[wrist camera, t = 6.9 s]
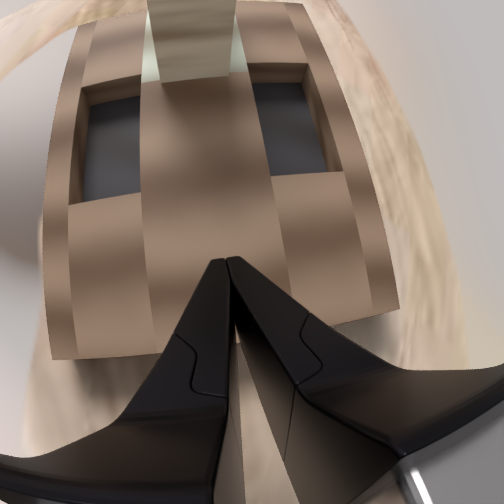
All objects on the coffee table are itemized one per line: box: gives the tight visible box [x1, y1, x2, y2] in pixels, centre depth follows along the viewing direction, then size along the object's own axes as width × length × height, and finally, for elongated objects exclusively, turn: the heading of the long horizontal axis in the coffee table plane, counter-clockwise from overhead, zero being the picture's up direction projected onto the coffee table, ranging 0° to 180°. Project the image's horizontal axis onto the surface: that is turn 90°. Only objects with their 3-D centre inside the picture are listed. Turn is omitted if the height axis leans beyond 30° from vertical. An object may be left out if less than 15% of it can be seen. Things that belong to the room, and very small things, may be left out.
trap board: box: [43, 1, 400, 360], centre depth 21 cm, size 29×22×3 cm
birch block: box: [147, 0, 236, 83], centre depth 17 cm, size 10×5×8 cm, turn 9°
